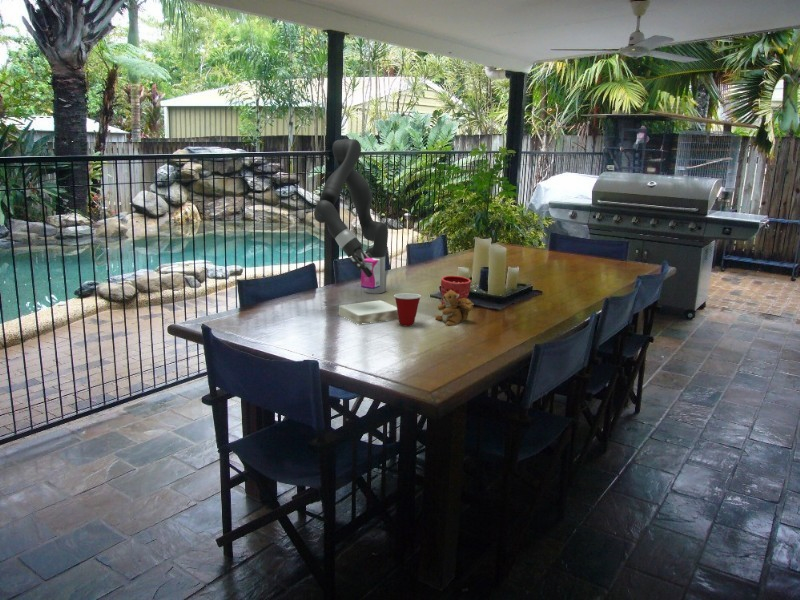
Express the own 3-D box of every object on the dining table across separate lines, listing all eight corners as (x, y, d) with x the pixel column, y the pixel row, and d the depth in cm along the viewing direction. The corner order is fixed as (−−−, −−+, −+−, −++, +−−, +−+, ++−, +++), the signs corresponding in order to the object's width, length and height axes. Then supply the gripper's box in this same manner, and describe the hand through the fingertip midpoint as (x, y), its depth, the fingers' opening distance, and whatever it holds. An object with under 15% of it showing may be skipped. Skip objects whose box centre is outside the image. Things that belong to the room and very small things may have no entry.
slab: (380, 309, 281) (380, 300, 280) (400, 318, 268) (401, 309, 267) (338, 314, 270) (339, 305, 269) (358, 325, 257) (358, 315, 256)
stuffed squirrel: (433, 319, 268) (434, 288, 265) (463, 317, 274) (465, 286, 270) (443, 326, 259) (445, 294, 256) (475, 324, 265) (477, 292, 261)
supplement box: (368, 284, 269) (369, 257, 267) (380, 286, 267) (381, 259, 264) (360, 287, 265) (361, 259, 262) (372, 289, 262) (373, 261, 259)
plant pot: (436, 306, 288) (438, 280, 285) (443, 299, 300) (445, 274, 297) (465, 310, 285) (467, 283, 282) (471, 303, 297) (473, 277, 294)
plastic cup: (413, 319, 268) (415, 290, 265) (424, 326, 258) (425, 297, 255) (388, 321, 264) (389, 292, 261) (398, 328, 254) (399, 298, 251)
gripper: (346, 239, 257) (373, 272, 256) (362, 234, 270) (387, 265, 269) (334, 251, 260) (360, 283, 259) (350, 245, 273) (375, 277, 272)
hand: (374, 274), depth 264 cm, fingers closed on supplement box, 6 cm apart
